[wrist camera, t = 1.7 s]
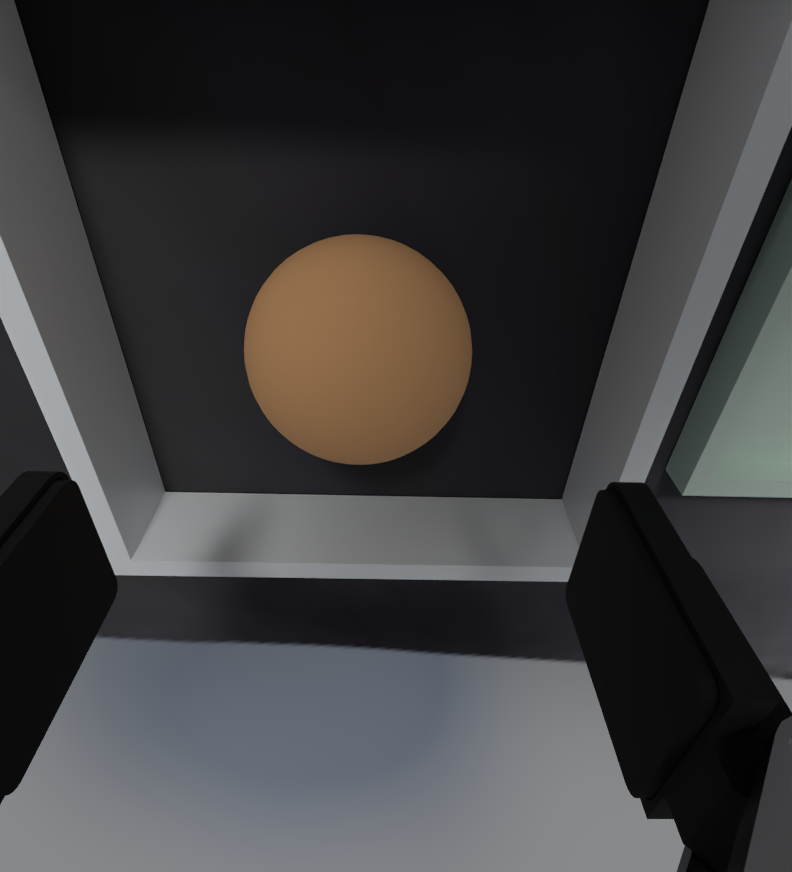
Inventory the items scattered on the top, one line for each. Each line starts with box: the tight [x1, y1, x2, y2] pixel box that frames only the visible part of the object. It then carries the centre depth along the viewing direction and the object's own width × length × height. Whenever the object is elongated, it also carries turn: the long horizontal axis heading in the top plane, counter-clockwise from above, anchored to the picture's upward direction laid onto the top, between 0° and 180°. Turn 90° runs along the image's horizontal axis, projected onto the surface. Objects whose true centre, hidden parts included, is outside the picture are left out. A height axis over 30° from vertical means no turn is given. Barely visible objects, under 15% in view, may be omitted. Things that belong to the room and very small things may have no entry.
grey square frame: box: [0, 0, 792, 582], centre depth 15 cm, size 18×18×4 cm
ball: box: [244, 234, 472, 465], centre depth 14 cm, size 6×6×6 cm
